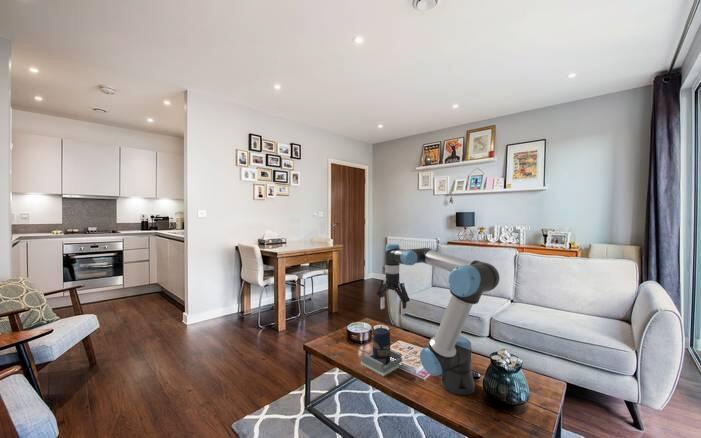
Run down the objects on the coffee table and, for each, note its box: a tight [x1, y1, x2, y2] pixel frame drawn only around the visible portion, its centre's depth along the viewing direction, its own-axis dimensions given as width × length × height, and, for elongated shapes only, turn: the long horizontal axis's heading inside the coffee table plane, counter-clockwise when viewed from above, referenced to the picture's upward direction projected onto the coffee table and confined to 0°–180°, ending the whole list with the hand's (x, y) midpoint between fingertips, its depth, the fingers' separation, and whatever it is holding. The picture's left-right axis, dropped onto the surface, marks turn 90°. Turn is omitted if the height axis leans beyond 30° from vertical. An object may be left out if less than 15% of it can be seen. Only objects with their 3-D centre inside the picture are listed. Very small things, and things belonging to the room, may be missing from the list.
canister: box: [372, 327, 391, 365], centre depth 157 cm, size 10×10×18 cm
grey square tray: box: [360, 348, 403, 377], centre depth 157 cm, size 16×16×6 cm
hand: (392, 311), depth 159 cm, fingers open, 13 cm apart
